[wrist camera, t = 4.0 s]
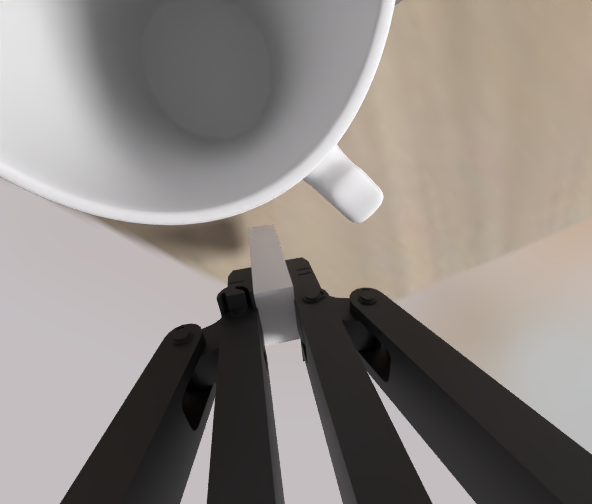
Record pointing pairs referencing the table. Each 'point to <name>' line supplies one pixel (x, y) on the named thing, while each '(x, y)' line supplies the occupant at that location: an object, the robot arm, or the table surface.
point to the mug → (186, 103)
